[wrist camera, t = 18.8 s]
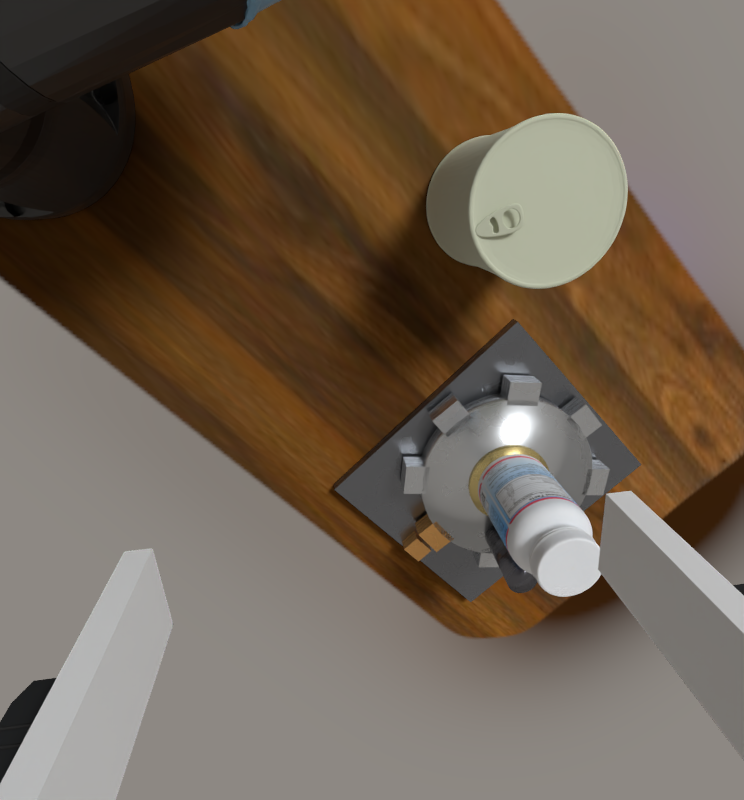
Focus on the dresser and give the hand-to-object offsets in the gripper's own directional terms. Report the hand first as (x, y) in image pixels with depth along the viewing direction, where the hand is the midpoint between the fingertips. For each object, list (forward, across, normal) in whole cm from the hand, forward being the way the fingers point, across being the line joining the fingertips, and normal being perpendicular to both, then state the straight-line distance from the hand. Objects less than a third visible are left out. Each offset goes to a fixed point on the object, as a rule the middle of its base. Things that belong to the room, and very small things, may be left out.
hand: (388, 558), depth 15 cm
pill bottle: (+25, +13, -14) cm, 32 cm away
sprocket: (+27, +13, -14) cm, 33 cm away
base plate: (+29, +13, -14) cm, 34 cm away
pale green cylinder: (+29, +12, +9) cm, 32 cm away
